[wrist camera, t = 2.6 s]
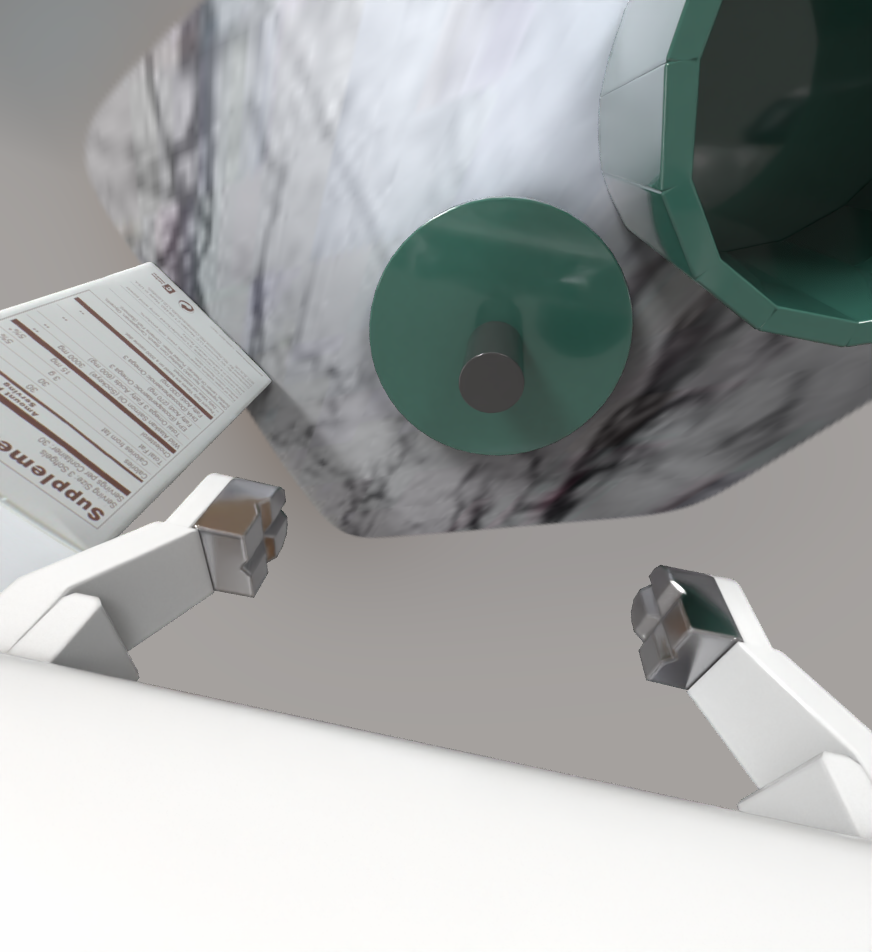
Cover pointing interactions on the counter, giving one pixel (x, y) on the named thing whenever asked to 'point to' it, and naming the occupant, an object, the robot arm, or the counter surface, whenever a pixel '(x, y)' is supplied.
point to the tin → (750, 154)
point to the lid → (501, 325)
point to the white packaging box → (105, 409)
